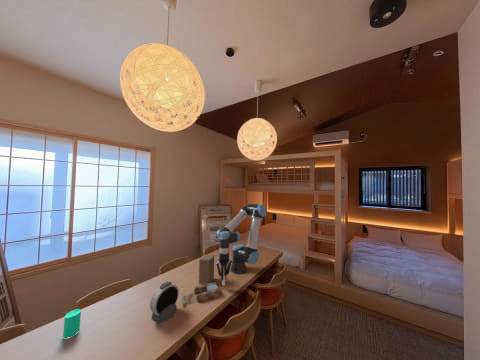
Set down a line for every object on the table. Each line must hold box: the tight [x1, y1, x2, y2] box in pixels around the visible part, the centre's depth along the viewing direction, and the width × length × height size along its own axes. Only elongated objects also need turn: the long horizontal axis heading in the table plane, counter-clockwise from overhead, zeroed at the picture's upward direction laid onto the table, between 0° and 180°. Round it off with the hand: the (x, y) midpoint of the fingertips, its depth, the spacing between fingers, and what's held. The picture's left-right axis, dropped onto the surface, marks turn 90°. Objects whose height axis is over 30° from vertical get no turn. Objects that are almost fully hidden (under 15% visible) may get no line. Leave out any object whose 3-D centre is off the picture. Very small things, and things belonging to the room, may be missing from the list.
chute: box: [180, 281, 221, 308], centre depth 115 cm, size 25×11×5 cm, turn 116°
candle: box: [62, 308, 82, 338], centre depth 84 cm, size 6×6×12 cm
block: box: [207, 283, 219, 291], centre depth 118 cm, size 7×6×4 cm
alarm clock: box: [149, 281, 180, 325], centre depth 98 cm, size 16×10×18 cm, turn 148°
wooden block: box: [198, 254, 215, 285], centre depth 134 cm, size 10×10×20 cm
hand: (223, 284), depth 122 cm, fingers closed
